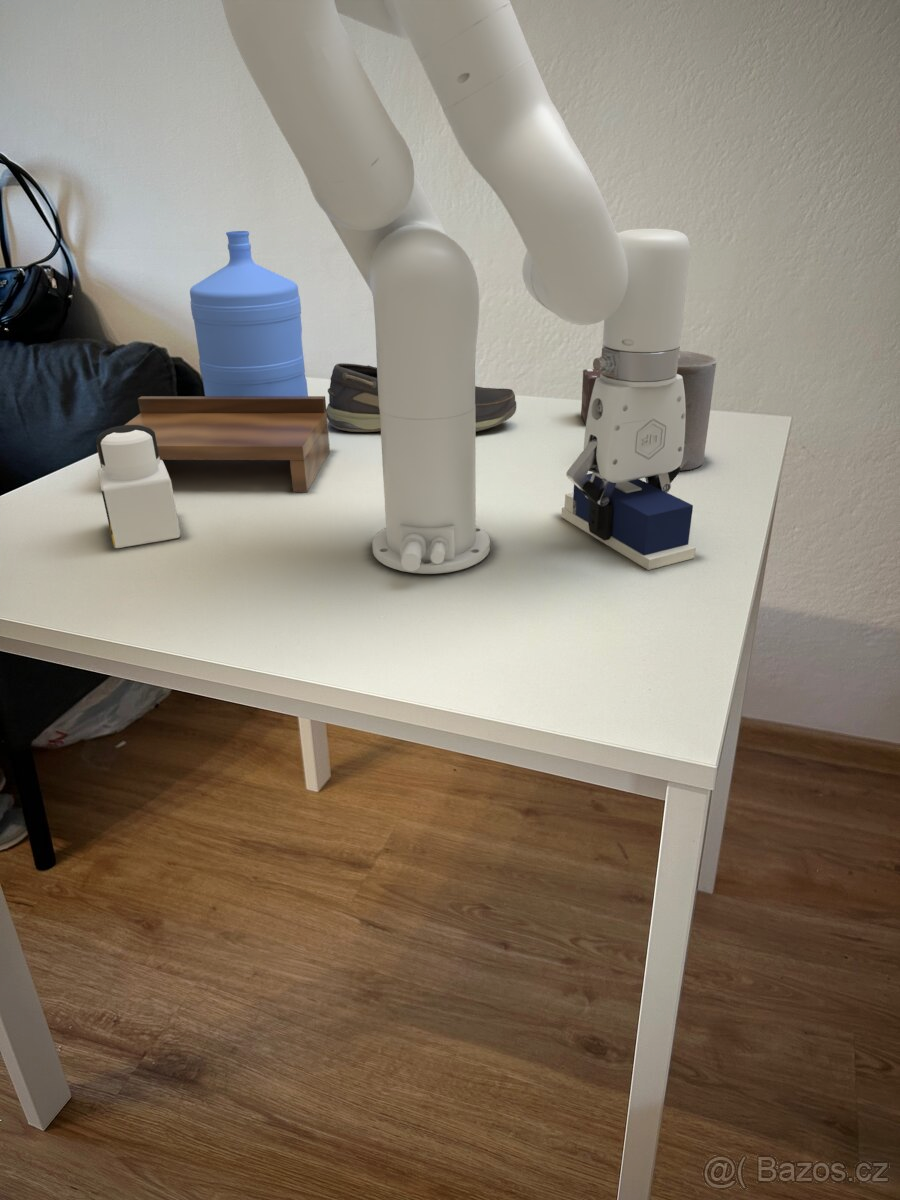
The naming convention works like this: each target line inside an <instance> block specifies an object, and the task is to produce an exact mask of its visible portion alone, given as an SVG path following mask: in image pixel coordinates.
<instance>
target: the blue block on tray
mask: <svg viewBox="0 0 900 1200" xmlns="http://www.w3.org/2000/svg"><path fill="white" fill-rule="evenodd" d="M592 474H593V472H591V473H587V478H588V479H589V480H590V479H591V476H592ZM604 481H605V480H602V483H601V486H600V488H599V489H600V490H601V489H602V486H603V483H604ZM609 504H610V505H612V506H613V518H612V530H611V537H610V539H609V540H605V541H604V540H602V539H601V538H599V537H597V536H596V535H594V534H593V533H591V532H590V531H589V525H588V522H589V507H590V500H589V499H588V498H586V497H585V495H584V494H583V493H582V492H581V491H580V490H579V489H578V487H577V486H576V485H575V484H574V483H573V492H570V493H565V495H564V506H563V507H562V508H561V514H560V515H561V518H562V519H563V520H565V521H567V522H569V523H570V524H571V525H574V526H575V527H577V528H578V529H580V530H581V531H583V532H585V533H586V534H588V535H590V536H592V537H593V538H595V539H596V540H598V541H600V542H601V543H603V544H605V545H606V546H608V547H610V548H611V549H613V550H615V551H616V552H618V553H619V554H621V555H623V556H624V557H626V558H627V559H629V560H631V561H632V562H634V563H635V564H637V565H638V566H641V567H642V568H644V569H646V570H647V571H651V570H654V569H657V568H662V567H666V566H669V565H673V564H677V563H680V562H685V561H688V560H692V559H695V556H696V547H695V546H693V545H691V544H690V543H689V541H690V533H691V526H692V525H691V524H692V516H693V508H694V505H693V504H691V503H689V502H687V501H685V500H683V499H682V498H679V497H677V496H675V495H673V494H671V493H669V492H665V491H662V490H660V489H658V488H656V487H654V486H652V485H650V484H648V483H646V481H643V480H642V479H641V478H640V479H636V480H631V481H626V482H620V483H616V486H615V488H614V491H613V493H612V496H611V498H610V501H609Z"/></svg>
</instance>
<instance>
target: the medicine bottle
mask: <svg viewBox="0 0 900 1200" xmlns="http://www.w3.org/2000/svg"><path fill="white" fill-rule="evenodd" d="M95 440H96V447H97V446H98V450H97V452H98V451H99V455H100V459H99V461H100V460H101V464H102V468H101V467H99V468H98V469H97V475H98V480H99V485H100V490H101V496H102V499H103V504H104V508H105V509H104V510H105V513H106V517H107V522H108V527H109V530H110V536H111V540H112V545H113V547H114V548H115V549H122V548H126V547H132V546H133V547H135V546H140V545H145V544H150V543H157V542H163V541H169V540H174V539H179V538H180V537H181V528H180V523H179V518H178V517H179V516H178V511H177V508H176V507H177V506H176V502H175V495H174V490H173V484H172V483H173V482H172V479H171V477H170V474H169V471H168V470H167V467H166V465H165V463H164V461H163V460H160V458H159V453H158V447H157V442H156V436H155V432H154V431H153V430H152V429H150V428H148V427H144V426H141V425H125V424H123V425H116V426H113V427H110V428H107V429H105V430H104V431H102V432H100V433H98V435H97V437H96V439H95ZM99 455H98V456H99ZM101 464H100V465H101Z"/></svg>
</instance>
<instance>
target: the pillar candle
mask: <svg viewBox="0 0 900 1200" xmlns="http://www.w3.org/2000/svg"><path fill="white" fill-rule="evenodd" d="M717 363H718V360H717V359H716V358H715V357H714V356H711V355H708V354H704V353H701V352H694V351H689V350H679V359H678V368H677V374H679V375H681V376H682V377H683V384H684V391H685V408H686V413H685V440H684V443H685V444H686V446H687V447H688V448H689V449H690V451H691V456H690V458H689V459H688V460H687V462H686V463H685V464H684V465H683V466H682V468H681V467H680V471H682V472H683V471H689V470H694V469H697V468H700V467H701V466H702V465H703V463H704V459H705V453H706V445H707V437H708V429H709V423H710V422H709V421H710V415H711V407H712V399H713V398H712V397H713V392H714V383H715V376H716V375H715V374H716V367H717Z"/></svg>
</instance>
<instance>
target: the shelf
mask: <svg viewBox="0 0 900 1200" xmlns="http://www.w3.org/2000/svg"><path fill="white" fill-rule="evenodd" d="M137 403H138V409H139V414H137V415H136V416H135V417H133V418H132V419H130V420H129V421H127V422H126V423H125V424H124V425H141V426H144V427H148V428H150V429H152V430H153V431H154V432H155V436H156V442H157V447H158V453H159V458H160V460H162V461H163V460H165V461H166V460H168V461H185V460H186V461H204V460H205V461H289V464H290V475H291V484H292V485H291V486H292V492H293V493H308V491H309V490H310V487H311V486H312V484H313V482H314V481H315V479H316V477H317V475H318V474H319V472H320V469H321V468H322V466H323V465H324V463H325V461H326V459H327V458H328V456H329V454H330V452H331V450H330V437H329V427H328V419H327V413H326V409H327V401H326V396H324V395H308V396H205V395H204V396H202V395H201V396H200V395H199V396H197V395H194V396H193V395H191V396H190V395H189V396H188V395H187V396H184V395H183V396H181V395H179V396H177V395H174V396H172V395H171V396H170V395H169V396H168V395H166V396H165V395H164V396H163V395H160V396H157V395H155V396H153V395H150V396H146V395H145V396H144V395H143V396H140V397H138V398H137ZM96 451H97V455H98V459H99V463H100V468H102V464H101V460H100V455H99V451H98V446H97V445H96Z"/></svg>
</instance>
